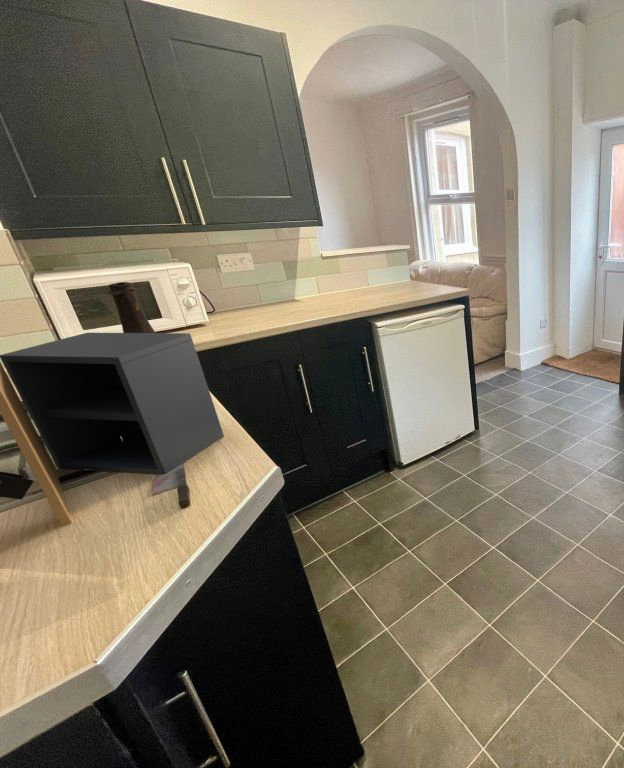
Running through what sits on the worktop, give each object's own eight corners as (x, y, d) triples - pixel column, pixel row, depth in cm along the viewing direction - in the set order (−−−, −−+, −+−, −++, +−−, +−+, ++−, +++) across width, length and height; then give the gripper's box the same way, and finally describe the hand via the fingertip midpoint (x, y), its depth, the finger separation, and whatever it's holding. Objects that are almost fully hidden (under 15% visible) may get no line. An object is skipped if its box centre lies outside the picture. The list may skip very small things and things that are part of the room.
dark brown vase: (213, 378, 120) (181, 278, 109) (141, 402, 105) (96, 290, 95) (176, 370, 127) (143, 276, 117) (104, 392, 112) (58, 286, 102)
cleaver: (151, 471, 75) (185, 461, 78) (153, 476, 76) (187, 466, 79) (149, 514, 64) (189, 500, 66) (151, 520, 64) (191, 506, 67)
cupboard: (166, 475, 75) (118, 357, 66) (58, 469, 78) (-2, 355, 69) (224, 436, 88) (190, 333, 79) (130, 432, 90) (87, 332, 82)
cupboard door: (10, 546, 59) (-78, 405, 51) (6, 486, 73) (-64, 367, 64) (71, 522, 64) (0, 389, 55) (57, 470, 77) (-3, 356, 69)
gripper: (-253, 417, 39) (63, 473, 59) (-280, 394, 45) (14, 451, 65) (-328, 498, 36) (29, 527, 56) (-345, 462, 42) (-18, 499, 63)
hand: (21, 486), depth 61 cm, fingers closed on cupboard door, 3 cm apart
